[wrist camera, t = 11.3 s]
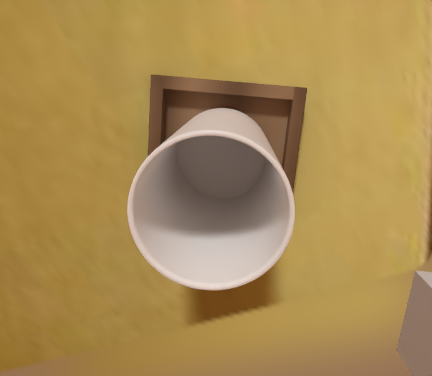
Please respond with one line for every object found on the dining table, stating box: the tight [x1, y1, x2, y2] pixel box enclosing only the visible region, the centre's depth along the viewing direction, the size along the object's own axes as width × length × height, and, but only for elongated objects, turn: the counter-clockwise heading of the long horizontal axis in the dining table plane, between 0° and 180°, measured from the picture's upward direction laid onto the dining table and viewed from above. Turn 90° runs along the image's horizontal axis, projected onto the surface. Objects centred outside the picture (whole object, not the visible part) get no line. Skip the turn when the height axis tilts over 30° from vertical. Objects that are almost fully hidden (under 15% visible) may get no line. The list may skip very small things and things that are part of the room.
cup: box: [127, 108, 295, 291], centre depth 27 cm, size 8×8×16 cm
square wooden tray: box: [148, 75, 307, 193], centre depth 34 cm, size 12×12×2 cm
